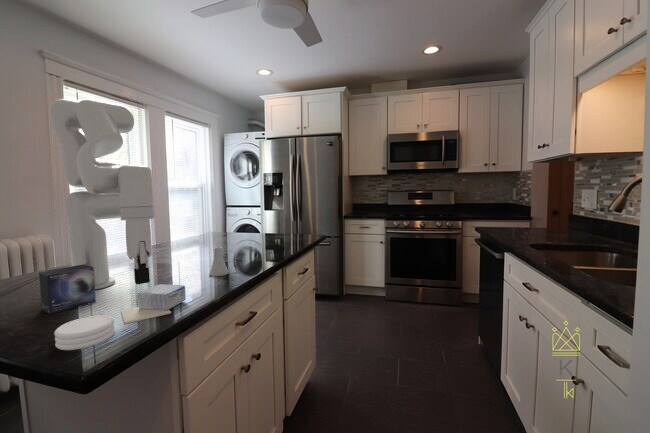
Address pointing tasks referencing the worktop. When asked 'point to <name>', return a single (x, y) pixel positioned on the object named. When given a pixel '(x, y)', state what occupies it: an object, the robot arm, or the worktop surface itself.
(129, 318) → the mat
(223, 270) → the flask
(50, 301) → the small box
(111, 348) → the worktop surface
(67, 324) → the coaster
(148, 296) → the medicine box
